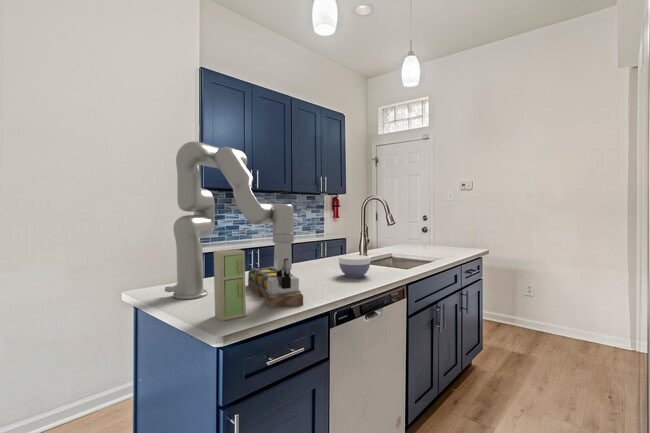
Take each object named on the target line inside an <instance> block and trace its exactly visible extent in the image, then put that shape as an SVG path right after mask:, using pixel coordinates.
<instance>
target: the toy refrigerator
mask: <svg viewBox="0 0 650 433" xmlns="http://www.w3.org/2000/svg"><path fill="white" fill-rule="evenodd" d="M245 253H246V251H245V250H243V249H238V248H232V249H221V250H213V277H214V281H213V282H214V283H213V284H214V286H213V287H214V315H215V317H216V318H217V319H218V320H220V321H221V322H224V321H225V322H226V321H229V320H234V319H239V318H244V317H246V316H247V315H246V314H247V313H246V312H247V310H246V309H247V308H246V262H245V261H246V256H245V255H246V254H245Z"/></svg>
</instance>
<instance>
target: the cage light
mask: <svg viewBox="0 0 650 433" xmlns="http://www.w3.org/2000/svg"><path fill="white" fill-rule="evenodd" d="M290 274H291V276H294V275H293V274H292V273H290ZM271 277H277V270H276V269H275V267H274V266H268V267H262V268H261V267H260V268H258V267H257V268H256V267H252V268H251V269H250V270H249V271H248V278H247V280H248V281H247V285H248V286H247V287H248V288H249V289H250V290H251V291H252V292H253V293H255V294H256V295H257V296H259V297H261V298H264V299H265V292H266V290H267V278H271Z"/></svg>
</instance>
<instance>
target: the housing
mask: <svg viewBox="0 0 650 433" xmlns="http://www.w3.org/2000/svg"><path fill="white" fill-rule="evenodd" d="M299 280H300V278H299V277H297V276H296V275H293V276H291V288H289V289H282V288H281V277H271V278H267V290H266V292H267V293H268V294H269V295H271V296H273V295H282V294H291V293H299V292H301V290H300V285H299V283H300V281H299ZM301 293H302V292H301Z"/></svg>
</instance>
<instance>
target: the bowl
mask: <svg viewBox="0 0 650 433" xmlns="http://www.w3.org/2000/svg"><path fill="white" fill-rule="evenodd" d="M338 263H339V264H338V265H339V269H340V271H341V272H342V273H343V275H345V277H346V278H351V279H356V278H357V279H358V278H363V277H364V276H365V275H366V274H367V272H368V271H369V269H370V266H371V265H370V264H371V256H369V255H365V254H364V255H362V254H344V255H339V256H338Z"/></svg>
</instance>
